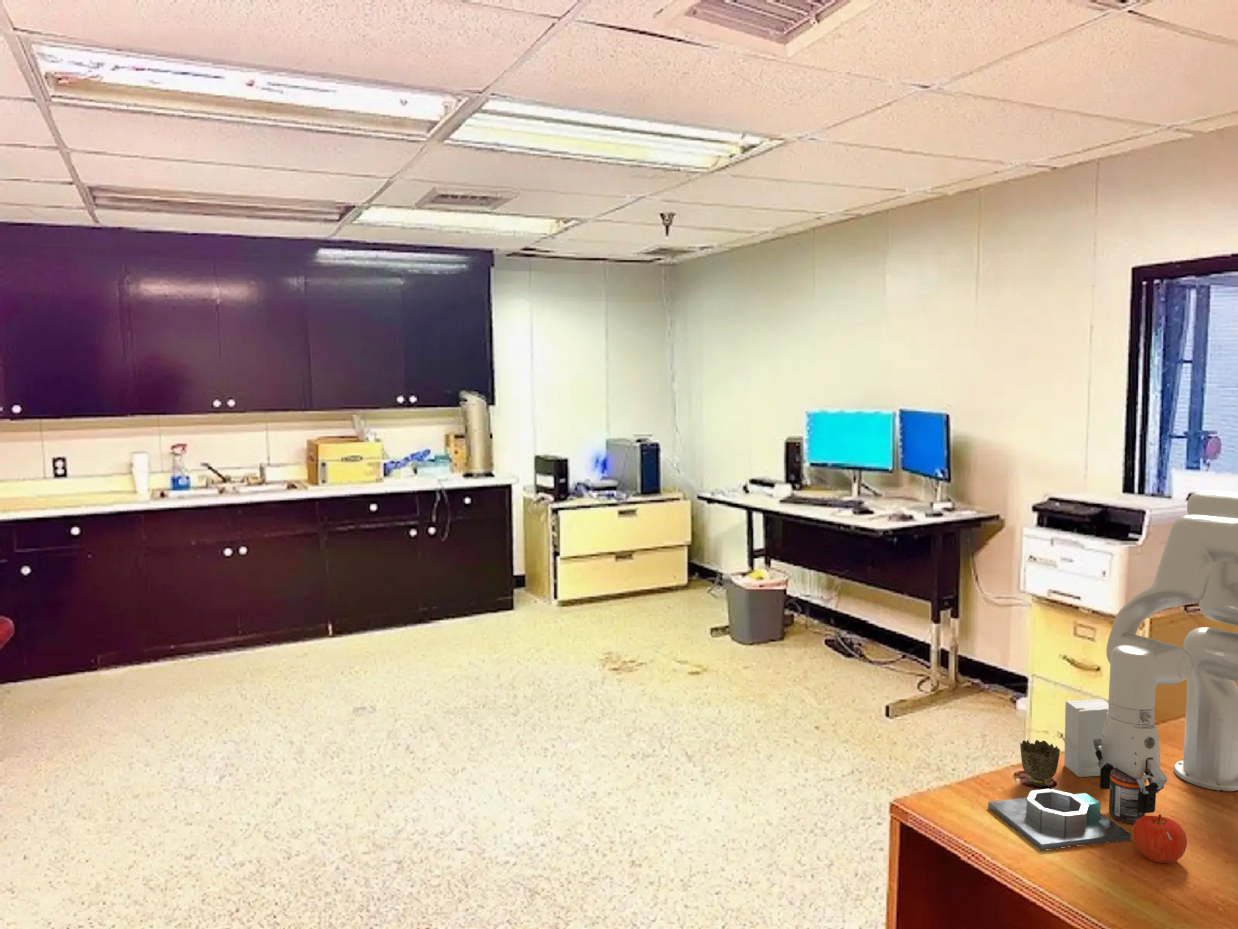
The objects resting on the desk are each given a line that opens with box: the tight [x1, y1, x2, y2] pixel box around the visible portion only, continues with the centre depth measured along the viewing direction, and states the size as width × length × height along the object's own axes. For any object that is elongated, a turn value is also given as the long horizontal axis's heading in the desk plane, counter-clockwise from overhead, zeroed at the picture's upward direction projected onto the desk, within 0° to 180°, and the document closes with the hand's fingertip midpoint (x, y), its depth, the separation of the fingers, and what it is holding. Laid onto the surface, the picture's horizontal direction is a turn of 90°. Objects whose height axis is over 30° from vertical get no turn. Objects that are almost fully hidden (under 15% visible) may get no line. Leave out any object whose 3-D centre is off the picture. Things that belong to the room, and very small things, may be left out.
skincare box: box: [1063, 698, 1108, 778], centre depth 185 cm, size 8×6×15 cm
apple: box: [1132, 813, 1188, 864], centre depth 152 cm, size 8×8×8 cm
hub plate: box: [988, 788, 1132, 851], centre depth 164 cm, size 18×16×4 cm
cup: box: [1019, 739, 1061, 787], centre depth 180 cm, size 8×7×8 cm
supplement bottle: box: [1108, 768, 1147, 826], centre depth 165 cm, size 6×6×11 cm
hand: (1126, 800), depth 165 cm, fingers open, 9 cm apart
